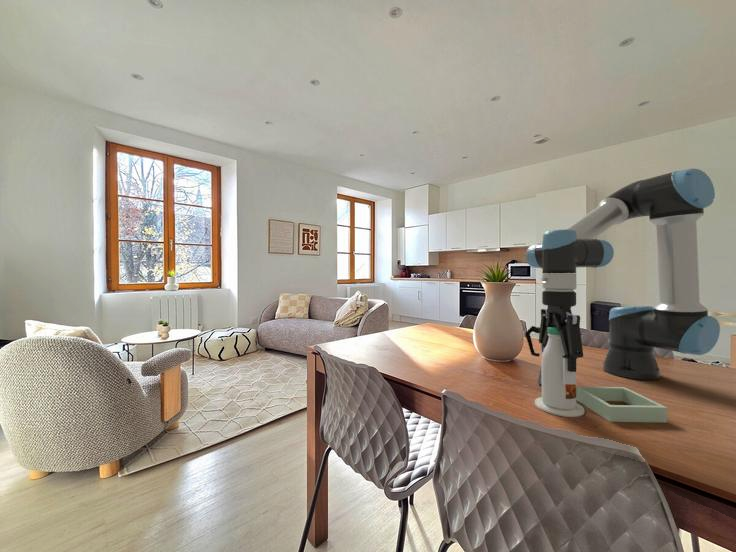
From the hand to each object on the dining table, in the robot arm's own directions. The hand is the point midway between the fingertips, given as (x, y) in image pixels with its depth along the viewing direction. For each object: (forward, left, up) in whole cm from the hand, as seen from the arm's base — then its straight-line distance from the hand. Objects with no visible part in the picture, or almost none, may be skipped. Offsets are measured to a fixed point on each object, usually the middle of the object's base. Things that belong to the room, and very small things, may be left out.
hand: (558, 377), depth 81 cm
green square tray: (-14, +1, -8) cm, 16 cm away
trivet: (0, 0, -8) cm, 8 cm away
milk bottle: (0, 0, -7) cm, 7 cm away
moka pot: (-7, -16, -8) cm, 19 cm away
